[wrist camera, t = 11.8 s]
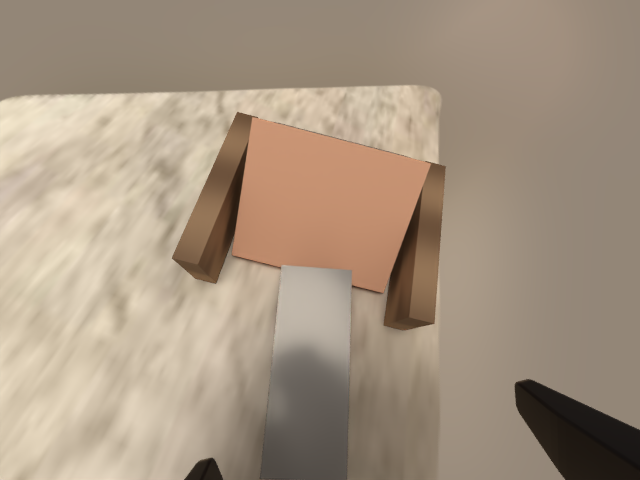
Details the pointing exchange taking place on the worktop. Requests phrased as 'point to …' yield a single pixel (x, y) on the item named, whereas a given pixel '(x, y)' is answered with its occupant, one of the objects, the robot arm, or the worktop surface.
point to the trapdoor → (325, 203)
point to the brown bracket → (221, 217)
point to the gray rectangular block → (309, 377)
